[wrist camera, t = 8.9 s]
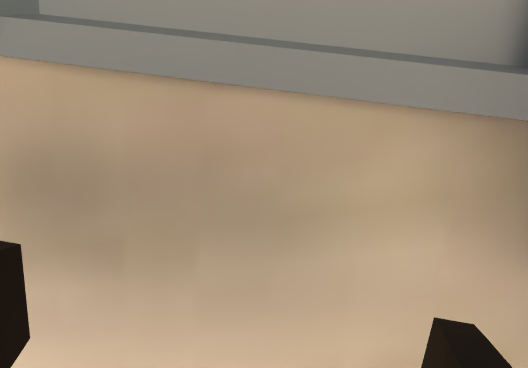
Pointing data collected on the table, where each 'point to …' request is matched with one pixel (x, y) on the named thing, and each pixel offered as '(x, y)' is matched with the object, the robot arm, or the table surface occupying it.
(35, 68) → the table surface
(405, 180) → the table surface
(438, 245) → the table surface
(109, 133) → the table surface
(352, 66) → the caddy
